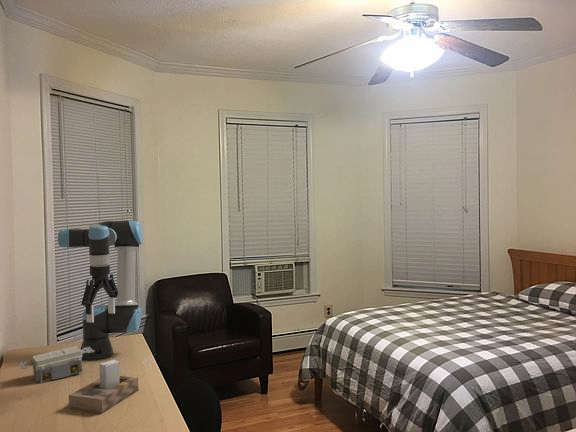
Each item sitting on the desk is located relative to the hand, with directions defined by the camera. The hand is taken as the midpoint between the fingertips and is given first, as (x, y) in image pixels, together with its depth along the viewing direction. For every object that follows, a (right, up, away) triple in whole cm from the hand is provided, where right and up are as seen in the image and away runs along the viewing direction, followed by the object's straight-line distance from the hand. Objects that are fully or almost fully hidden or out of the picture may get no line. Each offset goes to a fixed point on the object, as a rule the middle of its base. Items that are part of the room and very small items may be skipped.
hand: (101, 317), depth 203 cm
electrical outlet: (-23, -28, +12) cm, 38 cm away
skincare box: (+7, -27, -11) cm, 30 cm away
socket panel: (+6, -28, -13) cm, 32 cm away
